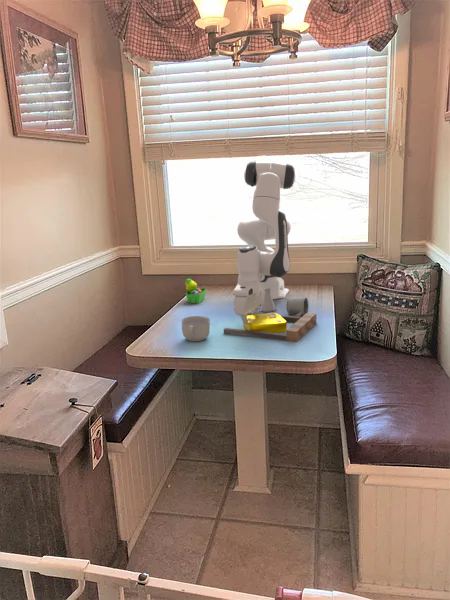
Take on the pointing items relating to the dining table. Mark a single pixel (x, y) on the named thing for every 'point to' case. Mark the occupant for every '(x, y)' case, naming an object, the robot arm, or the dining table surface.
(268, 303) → the flask
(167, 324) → the dining table surface
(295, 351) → the dining table surface
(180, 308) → the dining table surface
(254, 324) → the element tile
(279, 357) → the dining table surface
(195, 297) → the fruit basket
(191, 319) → the teacup
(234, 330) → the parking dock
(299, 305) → the ceramic mug
